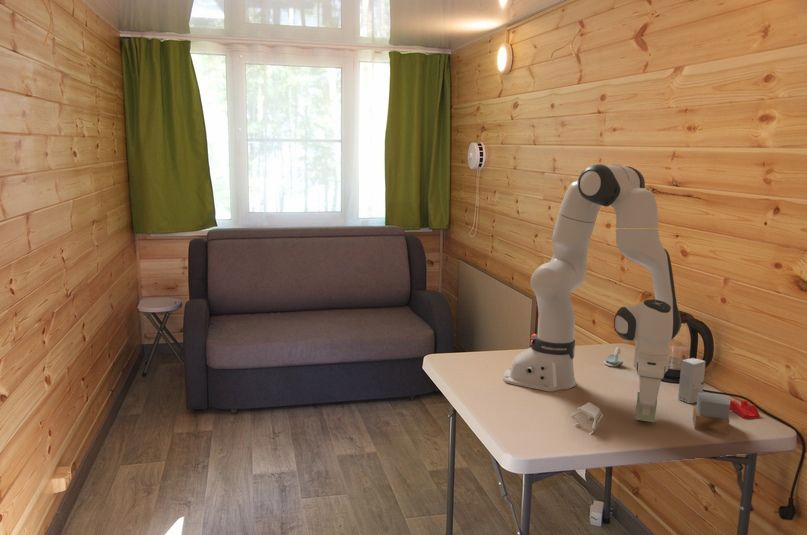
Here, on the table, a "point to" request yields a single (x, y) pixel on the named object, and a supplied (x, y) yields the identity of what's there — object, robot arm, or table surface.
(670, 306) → the robot arm
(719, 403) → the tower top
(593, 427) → the origami figure
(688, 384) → the skincare box
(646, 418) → the sage block
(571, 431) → the table surface
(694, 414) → the tower base
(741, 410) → the red irregular chunk
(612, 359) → the pacifier
